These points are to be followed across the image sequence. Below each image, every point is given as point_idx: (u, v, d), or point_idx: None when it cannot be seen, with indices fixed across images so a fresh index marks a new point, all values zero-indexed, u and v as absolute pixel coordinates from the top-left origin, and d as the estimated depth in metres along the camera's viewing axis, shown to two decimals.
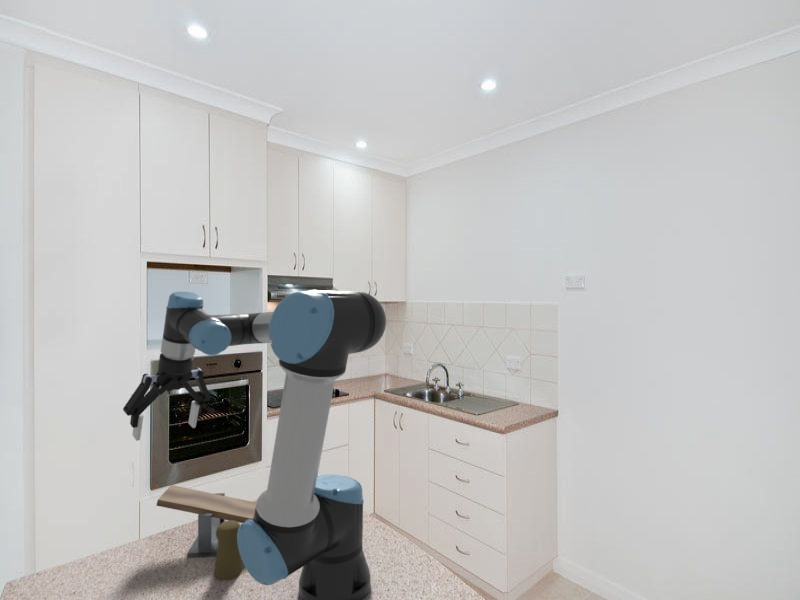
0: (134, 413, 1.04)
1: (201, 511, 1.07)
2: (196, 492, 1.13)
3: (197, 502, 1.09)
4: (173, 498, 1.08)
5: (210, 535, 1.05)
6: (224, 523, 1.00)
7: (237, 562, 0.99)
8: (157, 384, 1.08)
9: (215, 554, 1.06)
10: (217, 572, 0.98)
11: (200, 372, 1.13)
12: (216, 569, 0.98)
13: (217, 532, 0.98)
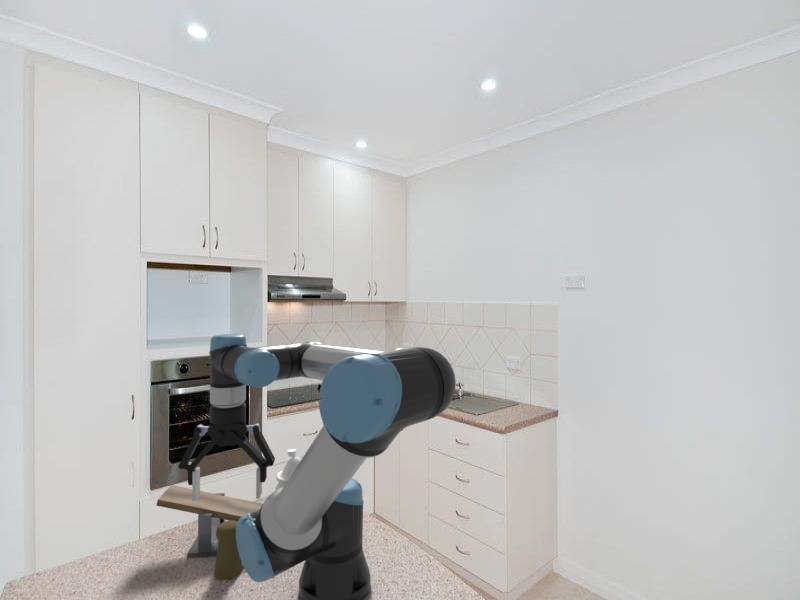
0: (187, 467, 0.98)
1: (201, 511, 1.07)
2: None
3: (197, 502, 1.09)
4: (173, 498, 1.08)
5: (210, 535, 1.05)
6: (224, 523, 1.00)
7: (237, 562, 0.99)
8: None
9: (215, 554, 1.06)
10: (217, 572, 0.98)
11: (254, 427, 0.99)
12: (216, 569, 0.98)
13: (217, 532, 0.98)
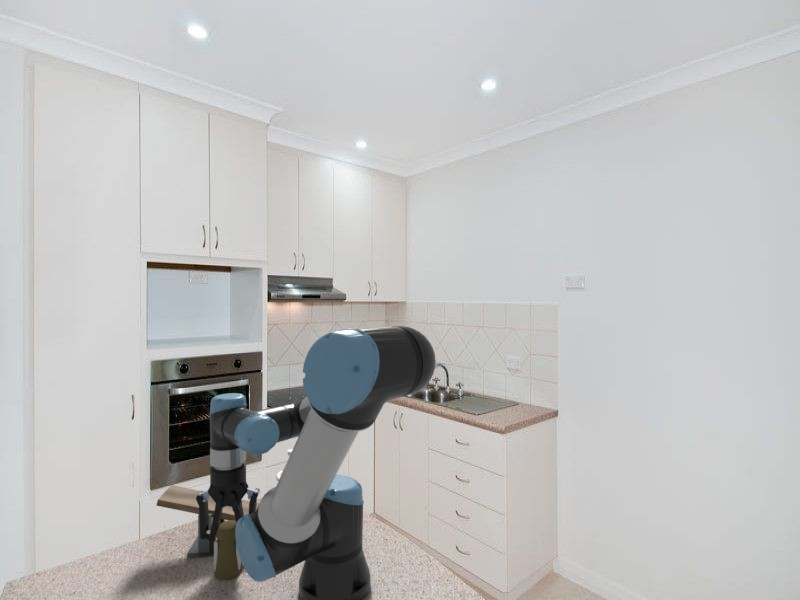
0: (209, 537, 0.98)
1: None
2: (196, 492, 1.13)
3: None
4: (173, 498, 1.08)
5: None
6: (224, 523, 1.00)
7: (237, 562, 0.99)
8: None
9: None
10: (217, 572, 0.98)
11: (254, 494, 0.99)
12: (216, 569, 0.98)
13: (217, 532, 0.98)
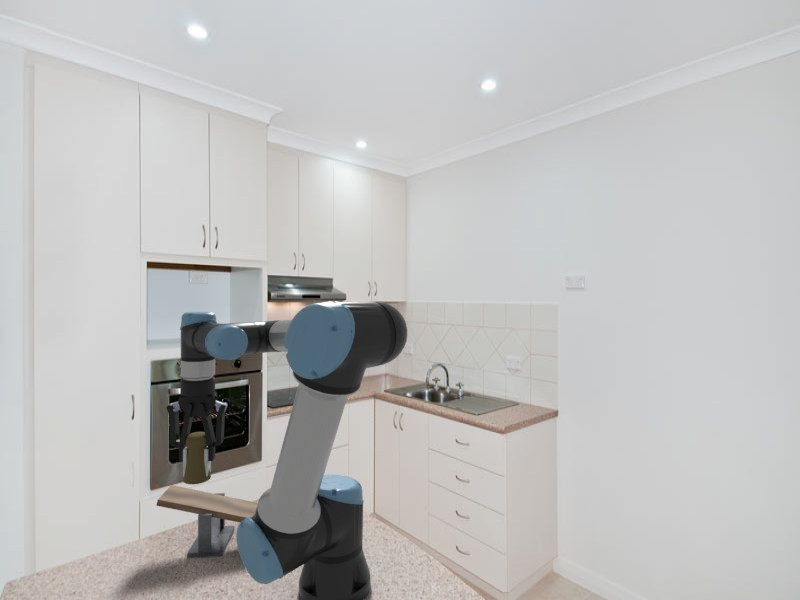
0: (178, 445, 1.04)
1: (201, 511, 1.07)
2: (196, 492, 1.13)
3: (197, 502, 1.09)
4: (173, 498, 1.08)
5: (210, 535, 1.05)
6: (193, 433, 1.06)
7: (204, 469, 1.05)
8: None
9: (215, 554, 1.06)
10: (186, 477, 1.04)
11: (222, 406, 1.05)
12: (185, 474, 1.04)
13: (186, 440, 1.04)
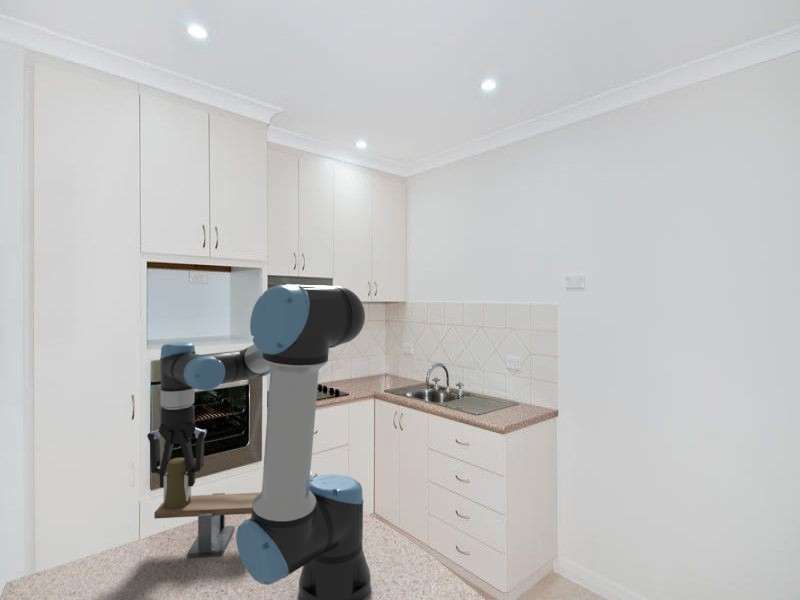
0: None
1: (200, 513, 1.07)
2: (194, 497, 1.13)
3: (195, 505, 1.09)
4: None
5: (210, 535, 1.05)
6: (174, 459, 1.10)
7: (184, 494, 1.09)
8: None
9: (215, 554, 1.06)
10: (166, 502, 1.07)
11: (201, 433, 1.09)
12: (165, 500, 1.08)
13: (167, 466, 1.08)
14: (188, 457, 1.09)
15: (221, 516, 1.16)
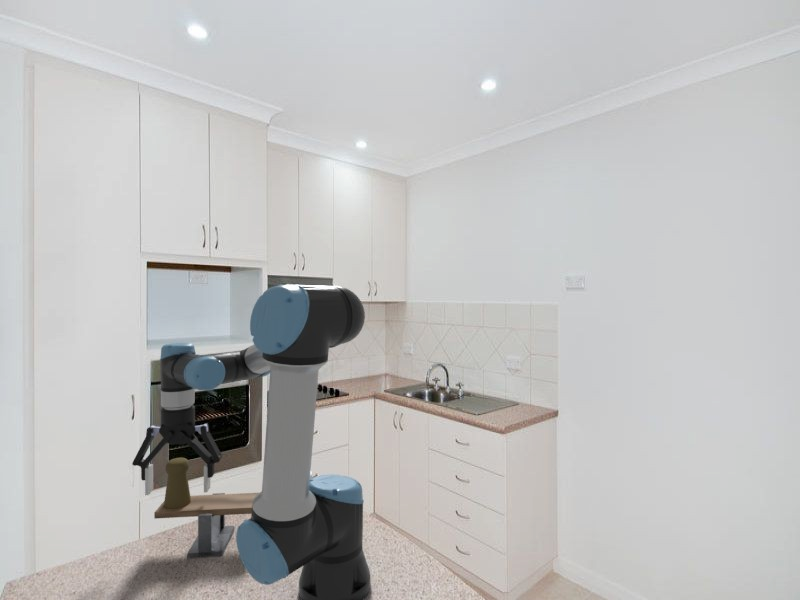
0: (140, 464, 1.08)
1: (200, 513, 1.07)
2: (194, 497, 1.13)
3: (195, 505, 1.09)
4: None
5: (210, 535, 1.05)
6: (173, 459, 1.10)
7: (184, 494, 1.09)
8: None
9: (215, 554, 1.06)
10: (166, 502, 1.07)
11: (202, 427, 1.09)
12: (165, 500, 1.08)
13: (166, 466, 1.08)
14: (200, 451, 1.09)
15: (221, 516, 1.16)
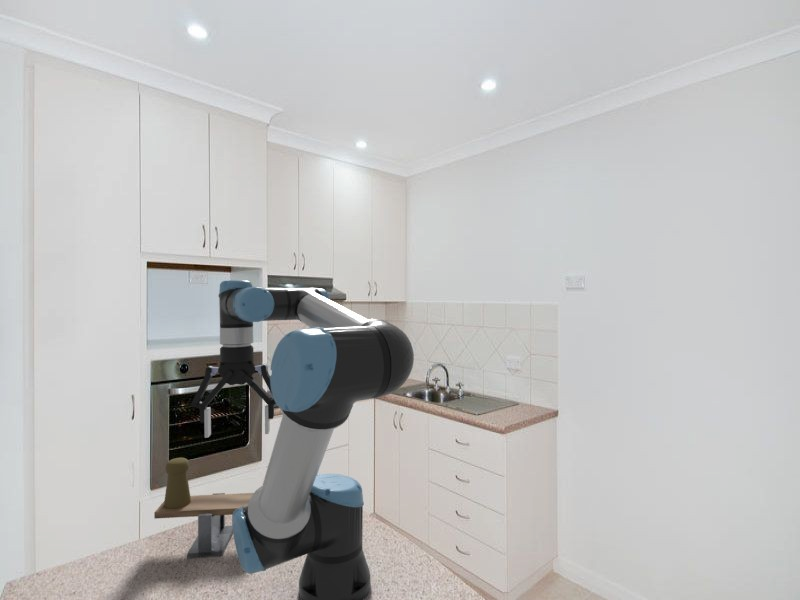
0: (199, 406, 1.04)
1: (200, 513, 1.07)
2: (194, 497, 1.13)
3: (195, 505, 1.09)
4: None
5: (210, 535, 1.05)
6: (173, 459, 1.10)
7: (184, 494, 1.09)
8: None
9: (215, 554, 1.06)
10: (166, 502, 1.07)
11: (262, 366, 1.06)
12: (165, 500, 1.08)
13: (166, 466, 1.08)
14: (261, 391, 1.06)
15: (221, 516, 1.16)
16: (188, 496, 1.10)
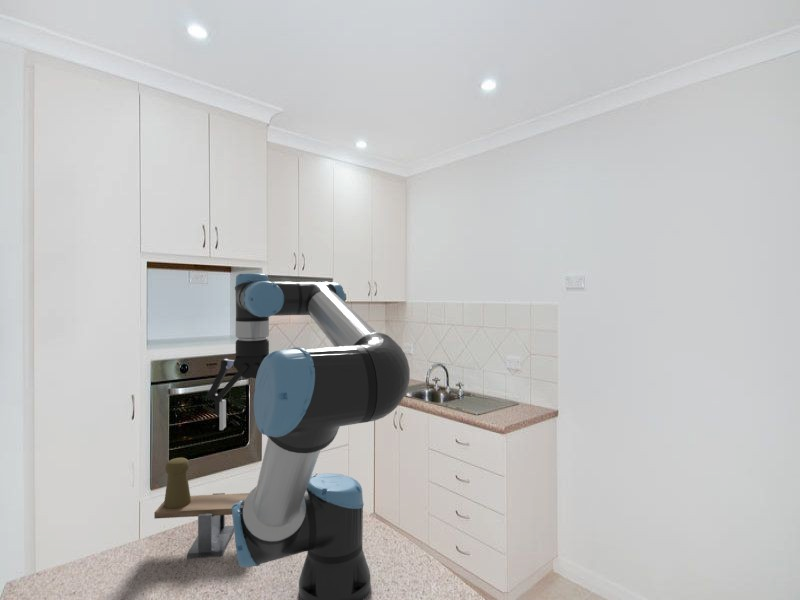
0: (214, 398, 1.04)
1: (200, 513, 1.07)
2: (194, 497, 1.13)
3: (195, 505, 1.09)
4: None
5: (210, 535, 1.05)
6: (173, 459, 1.10)
7: (184, 494, 1.09)
8: None
9: (215, 554, 1.06)
10: (166, 502, 1.07)
11: None
12: (165, 500, 1.08)
13: (166, 466, 1.08)
14: None
15: (221, 516, 1.16)
16: (188, 496, 1.10)
